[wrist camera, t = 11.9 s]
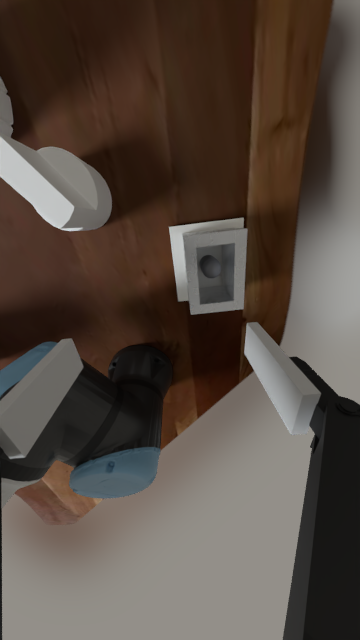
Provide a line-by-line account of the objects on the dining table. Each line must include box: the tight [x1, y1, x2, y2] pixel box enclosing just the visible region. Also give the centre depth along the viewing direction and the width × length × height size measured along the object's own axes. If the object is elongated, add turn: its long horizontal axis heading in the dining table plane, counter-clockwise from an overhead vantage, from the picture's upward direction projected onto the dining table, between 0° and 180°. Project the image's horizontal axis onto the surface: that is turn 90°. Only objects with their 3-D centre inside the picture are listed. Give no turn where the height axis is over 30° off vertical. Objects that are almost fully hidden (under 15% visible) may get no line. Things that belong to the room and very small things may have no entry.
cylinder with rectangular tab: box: [0, 133, 112, 231], centre depth 24 cm, size 9×9×12 cm
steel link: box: [182, 228, 247, 315], centre depth 29 cm, size 11×8×8 cm
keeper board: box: [169, 218, 244, 302], centre depth 31 cm, size 13×12×7 cm
